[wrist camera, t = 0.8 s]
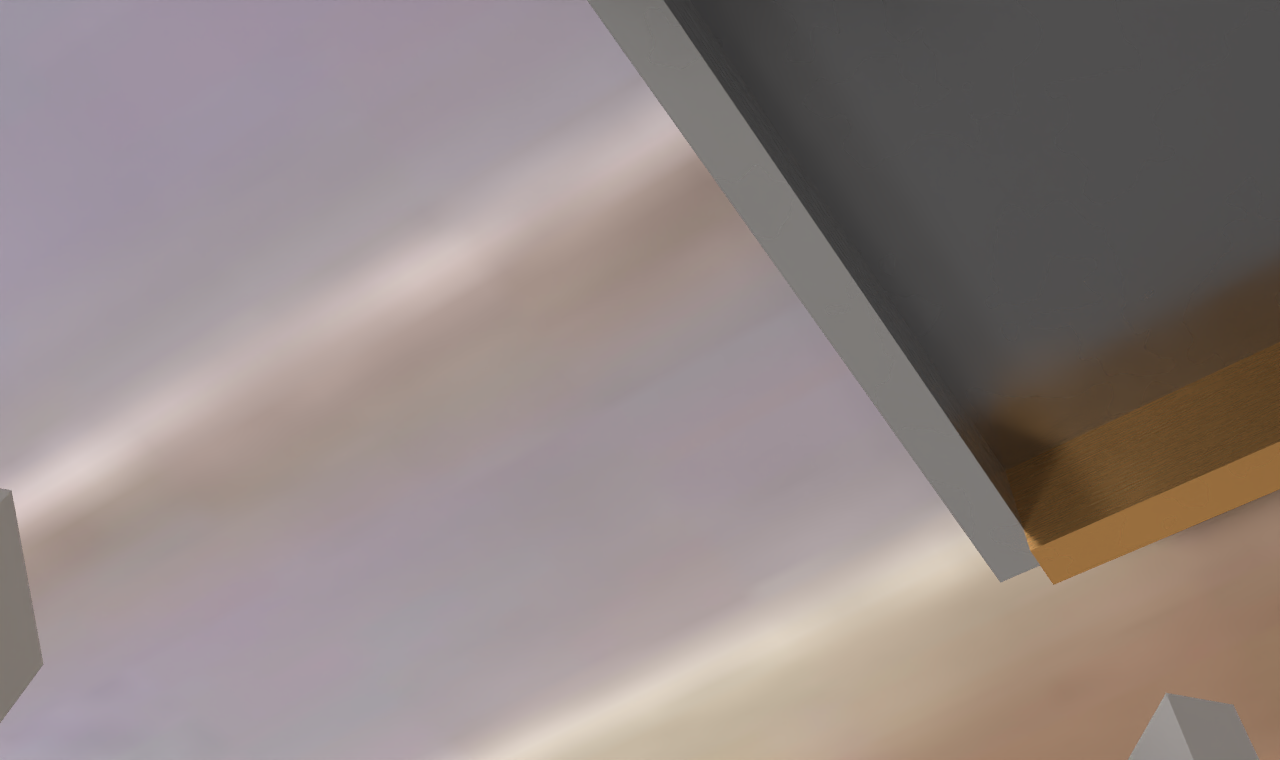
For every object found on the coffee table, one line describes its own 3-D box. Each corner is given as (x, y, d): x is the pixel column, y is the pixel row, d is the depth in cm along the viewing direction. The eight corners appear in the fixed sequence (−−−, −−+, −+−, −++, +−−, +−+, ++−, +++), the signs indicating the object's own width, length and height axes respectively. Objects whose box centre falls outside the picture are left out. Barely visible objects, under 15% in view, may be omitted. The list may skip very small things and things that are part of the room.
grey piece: (573, -53, 30) (540, -11, 26) (1293, -609, 23) (1417, -684, 19) (965, 506, 38) (991, 610, 34) (1587, 217, 31) (1722, 301, 27)
